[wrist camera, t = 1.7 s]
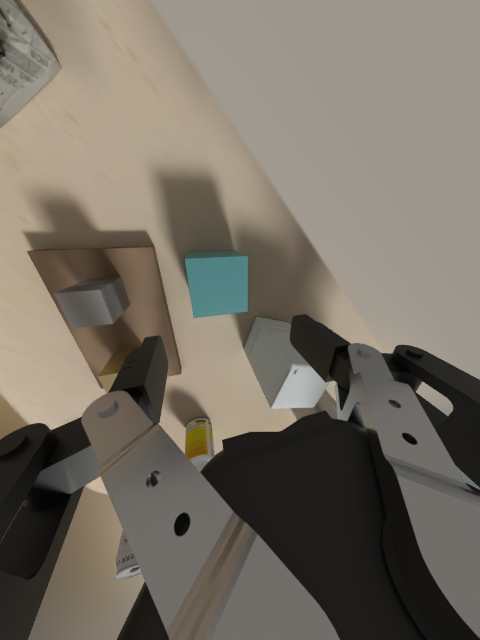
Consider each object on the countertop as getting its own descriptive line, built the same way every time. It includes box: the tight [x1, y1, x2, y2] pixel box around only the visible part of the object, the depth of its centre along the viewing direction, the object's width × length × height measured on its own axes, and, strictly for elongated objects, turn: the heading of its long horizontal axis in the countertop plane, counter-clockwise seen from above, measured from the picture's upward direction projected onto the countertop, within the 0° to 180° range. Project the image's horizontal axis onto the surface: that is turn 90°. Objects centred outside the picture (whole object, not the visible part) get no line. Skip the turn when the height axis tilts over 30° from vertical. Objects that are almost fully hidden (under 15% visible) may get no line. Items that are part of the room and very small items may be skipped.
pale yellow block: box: [98, 345, 141, 394], centre depth 23 cm, size 4×4×6 cm
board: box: [27, 247, 181, 388], centre depth 22 cm, size 12×20×7 cm, turn 0°
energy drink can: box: [116, 530, 141, 579], centre depth 34 cm, size 6×6×15 cm
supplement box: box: [244, 317, 330, 409], centre depth 27 cm, size 7×7×13 cm
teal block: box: [185, 250, 248, 318], centre depth 22 cm, size 6×6×7 cm
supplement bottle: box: [185, 418, 215, 472], centre depth 34 cm, size 6×6×10 cm
